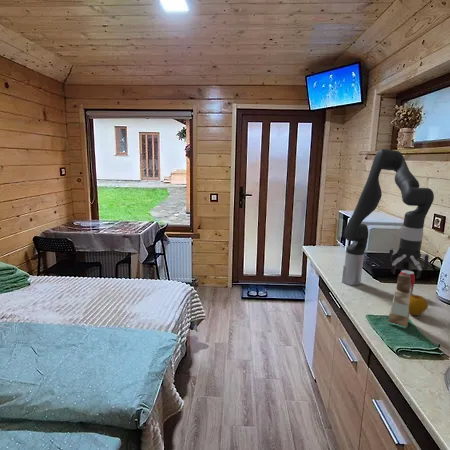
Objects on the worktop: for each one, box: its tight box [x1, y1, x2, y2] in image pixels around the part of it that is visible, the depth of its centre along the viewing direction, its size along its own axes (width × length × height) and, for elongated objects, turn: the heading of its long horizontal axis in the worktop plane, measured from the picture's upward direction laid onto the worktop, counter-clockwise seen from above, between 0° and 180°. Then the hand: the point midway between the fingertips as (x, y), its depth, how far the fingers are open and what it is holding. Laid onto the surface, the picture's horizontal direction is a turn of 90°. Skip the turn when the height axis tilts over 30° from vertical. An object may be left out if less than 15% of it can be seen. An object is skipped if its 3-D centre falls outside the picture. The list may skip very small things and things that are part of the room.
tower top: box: [393, 286, 411, 306], centre depth 135 cm, size 6×6×5 cm
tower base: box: [387, 306, 410, 328], centre depth 137 cm, size 7×7×5 cm
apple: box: [409, 294, 429, 316], centre depth 145 cm, size 9×9×9 cm
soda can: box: [399, 269, 416, 296], centre depth 166 cm, size 7×7×12 cm
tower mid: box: [391, 297, 410, 317], centre depth 136 cm, size 6×6×5 cm
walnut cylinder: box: [396, 273, 411, 292], centre depth 134 cm, size 5×5×6 cm
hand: (405, 276), depth 133 cm, fingers open, 8 cm apart
